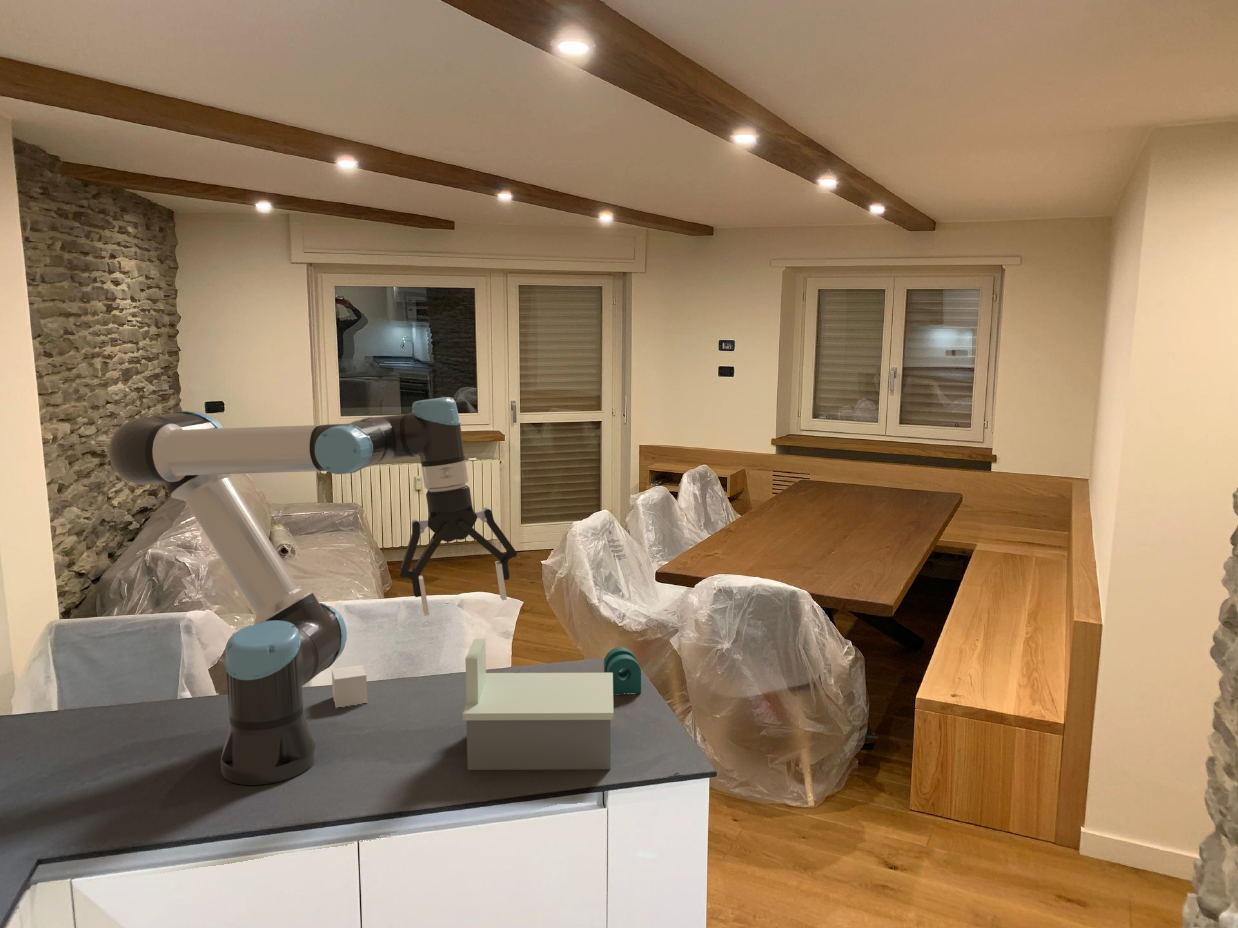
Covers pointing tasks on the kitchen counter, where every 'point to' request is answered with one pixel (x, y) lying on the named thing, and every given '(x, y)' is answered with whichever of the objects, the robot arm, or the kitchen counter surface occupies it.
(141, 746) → the kitchen counter surface
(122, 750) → the kitchen counter surface
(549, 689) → the pale green l-shaped plate
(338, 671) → the white cube
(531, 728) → the tub
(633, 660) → the bracket
